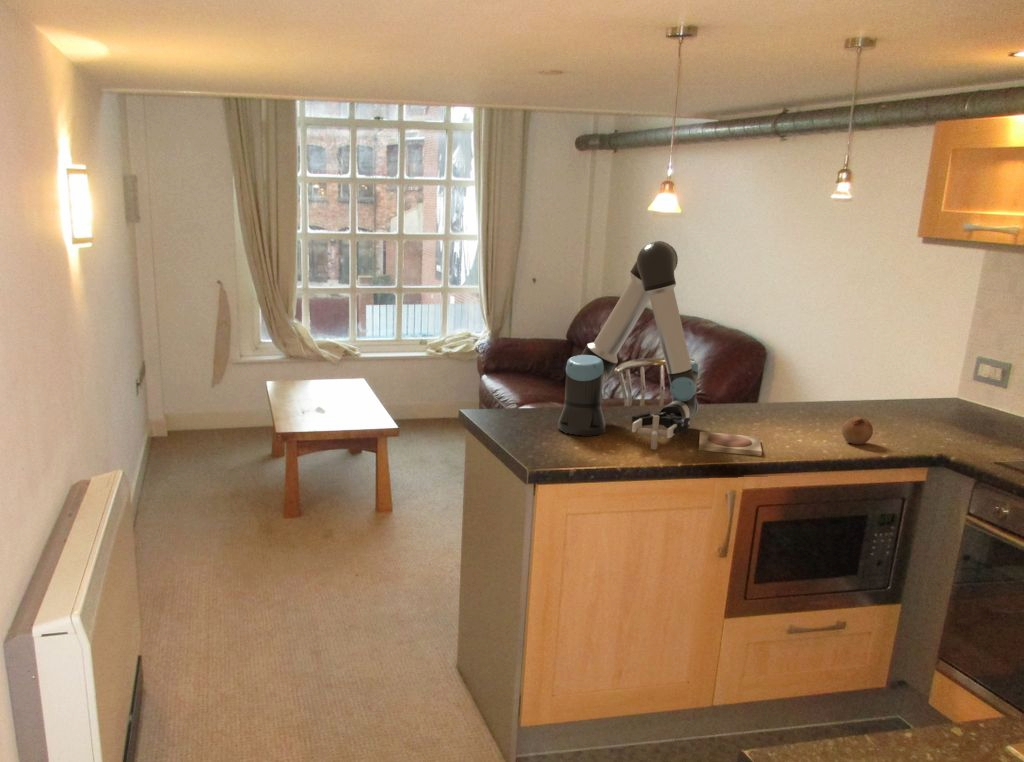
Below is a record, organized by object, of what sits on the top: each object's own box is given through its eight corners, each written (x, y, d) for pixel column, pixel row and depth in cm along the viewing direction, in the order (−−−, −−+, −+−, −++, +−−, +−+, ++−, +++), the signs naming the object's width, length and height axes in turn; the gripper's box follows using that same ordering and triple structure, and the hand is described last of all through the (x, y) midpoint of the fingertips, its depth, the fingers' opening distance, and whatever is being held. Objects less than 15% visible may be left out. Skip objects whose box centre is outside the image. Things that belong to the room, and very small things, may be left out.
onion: (858, 455, 253) (863, 432, 248) (833, 441, 260) (838, 418, 254) (876, 441, 257) (881, 419, 251) (851, 428, 263) (856, 405, 258)
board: (698, 449, 243) (699, 444, 243) (699, 436, 259) (700, 430, 258) (761, 456, 239) (761, 450, 239) (758, 441, 255) (759, 435, 254)
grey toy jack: (670, 454, 237) (673, 421, 235) (636, 451, 239) (638, 418, 236) (671, 445, 246) (673, 413, 244) (637, 442, 248) (640, 410, 246)
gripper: (708, 432, 252) (687, 449, 233) (639, 421, 263) (613, 436, 243) (710, 408, 251) (689, 424, 231) (640, 398, 261) (615, 412, 242)
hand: (650, 430), depth 237 cm, fingers closed on grey toy jack, 10 cm apart
